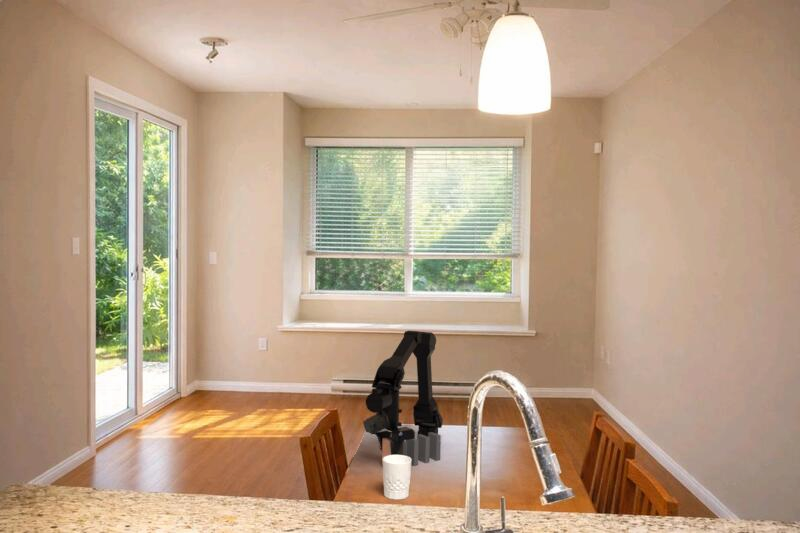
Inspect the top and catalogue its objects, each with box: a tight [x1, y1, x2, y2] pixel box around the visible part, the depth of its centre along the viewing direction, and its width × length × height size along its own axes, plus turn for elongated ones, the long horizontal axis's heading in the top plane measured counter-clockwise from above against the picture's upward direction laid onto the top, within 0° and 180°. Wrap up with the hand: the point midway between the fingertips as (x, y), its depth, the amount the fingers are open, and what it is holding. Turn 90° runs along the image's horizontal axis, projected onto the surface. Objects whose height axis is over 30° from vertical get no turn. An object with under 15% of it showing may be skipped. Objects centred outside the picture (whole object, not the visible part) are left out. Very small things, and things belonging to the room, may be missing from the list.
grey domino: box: [416, 434, 430, 464], centre depth 215 cm, size 2×4×8 cm, turn 37°
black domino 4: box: [397, 440, 407, 456], centre depth 209 cm, size 2×4×8 cm, turn 37°
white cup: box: [382, 455, 412, 500], centre depth 185 cm, size 8×8×10 cm
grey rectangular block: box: [405, 437, 419, 467], centre depth 212 cm, size 2×4×8 cm, turn 37°
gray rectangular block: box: [428, 432, 442, 462], centre depth 217 cm, size 2×4×8 cm, turn 37°
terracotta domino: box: [381, 438, 391, 465], centre depth 207 cm, size 2×4×8 cm, turn 37°
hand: (388, 456), depth 207 cm, fingers closed on terracotta domino, 4 cm apart
